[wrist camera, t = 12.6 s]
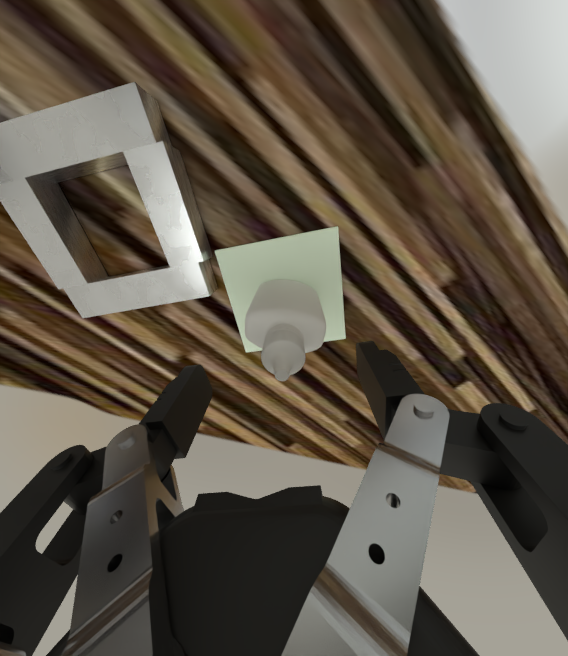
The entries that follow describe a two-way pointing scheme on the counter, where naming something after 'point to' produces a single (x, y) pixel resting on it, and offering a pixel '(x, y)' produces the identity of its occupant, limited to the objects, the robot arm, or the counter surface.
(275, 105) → the counter surface
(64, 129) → the collar block
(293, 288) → the eye dropper bottle
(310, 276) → the sage mat
